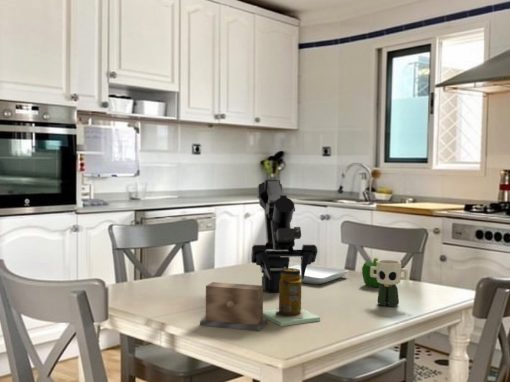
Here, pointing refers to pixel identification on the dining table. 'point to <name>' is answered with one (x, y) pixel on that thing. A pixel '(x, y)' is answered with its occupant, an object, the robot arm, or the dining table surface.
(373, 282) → the bell pepper
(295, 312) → the condiment
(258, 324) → the walnut unit
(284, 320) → the sage pad
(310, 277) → the salad plate
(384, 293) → the character mug
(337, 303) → the dining table surface
